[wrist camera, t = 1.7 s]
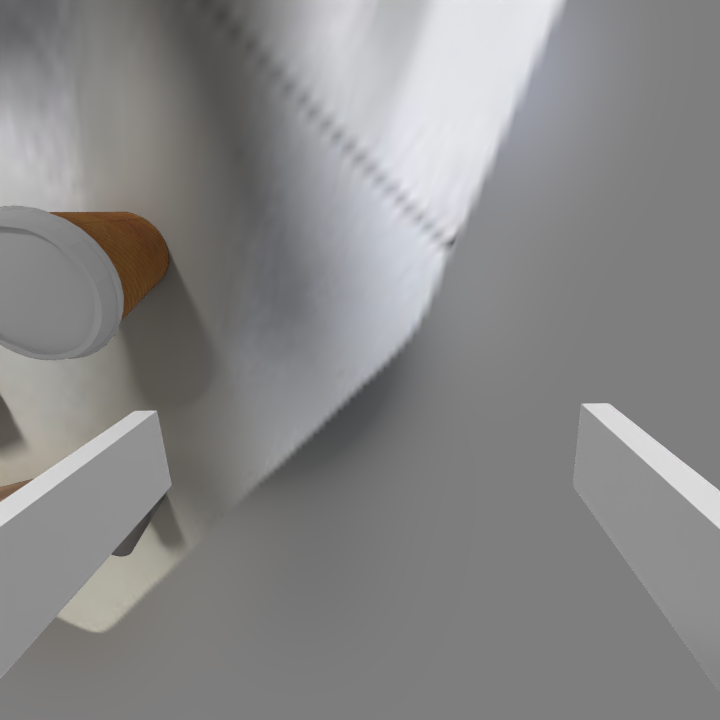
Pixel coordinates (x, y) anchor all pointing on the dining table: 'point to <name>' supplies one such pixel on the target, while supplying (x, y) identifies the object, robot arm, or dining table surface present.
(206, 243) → the dining table surface
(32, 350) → the disposable coffee cup
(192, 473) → the dining table surface
